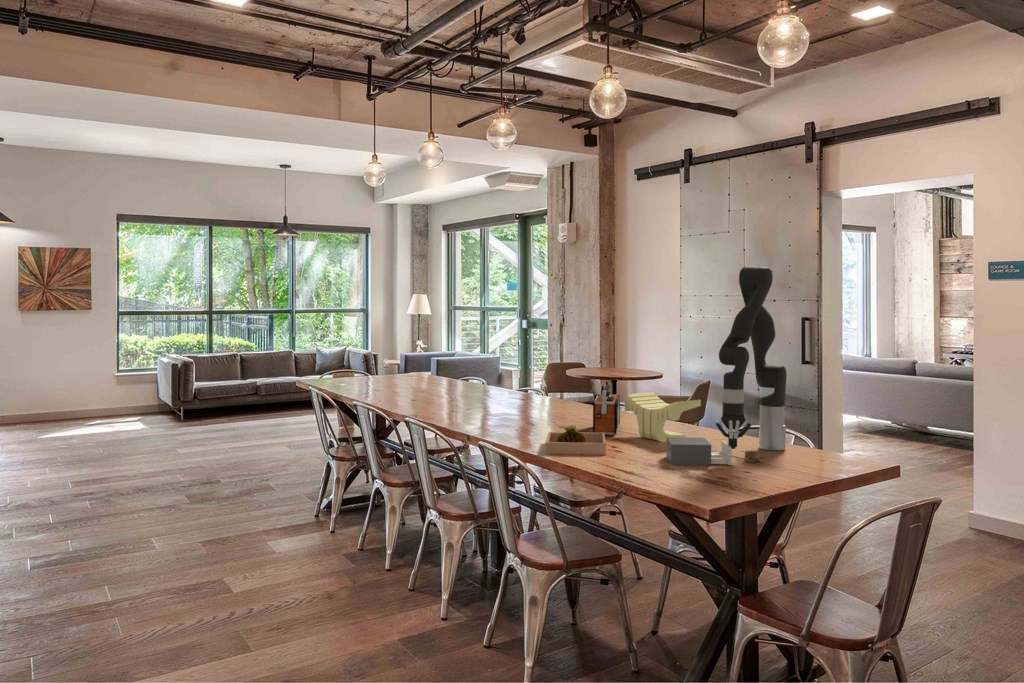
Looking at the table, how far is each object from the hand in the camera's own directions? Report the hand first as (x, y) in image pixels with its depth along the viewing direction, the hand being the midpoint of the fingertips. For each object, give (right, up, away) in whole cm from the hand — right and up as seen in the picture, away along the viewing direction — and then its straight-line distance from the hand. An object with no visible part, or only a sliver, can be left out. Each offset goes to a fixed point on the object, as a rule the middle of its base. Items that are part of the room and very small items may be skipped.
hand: (732, 448), depth 272 cm
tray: (-9, -5, +1) cm, 10 cm away
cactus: (-57, -4, +25) cm, 63 cm away
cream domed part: (-7, -4, +1) cm, 8 cm away
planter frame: (-55, -4, +26) cm, 61 cm away
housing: (-16, -5, +2) cm, 17 cm away
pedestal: (+7, -5, +1) cm, 9 cm away
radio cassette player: (-37, -2, +66) cm, 76 cm away
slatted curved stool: (-17, -3, +47) cm, 50 cm away
